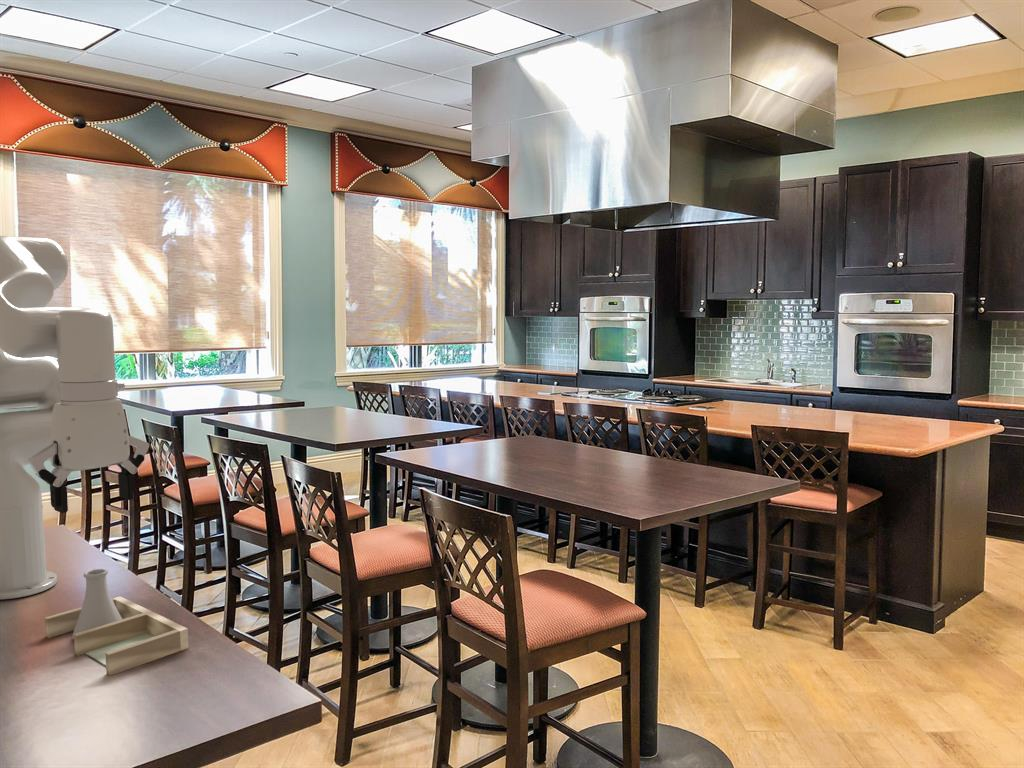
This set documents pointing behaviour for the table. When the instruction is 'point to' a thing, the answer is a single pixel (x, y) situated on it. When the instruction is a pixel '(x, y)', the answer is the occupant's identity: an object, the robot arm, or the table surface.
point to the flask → (96, 603)
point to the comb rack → (123, 636)
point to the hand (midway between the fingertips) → (94, 504)
